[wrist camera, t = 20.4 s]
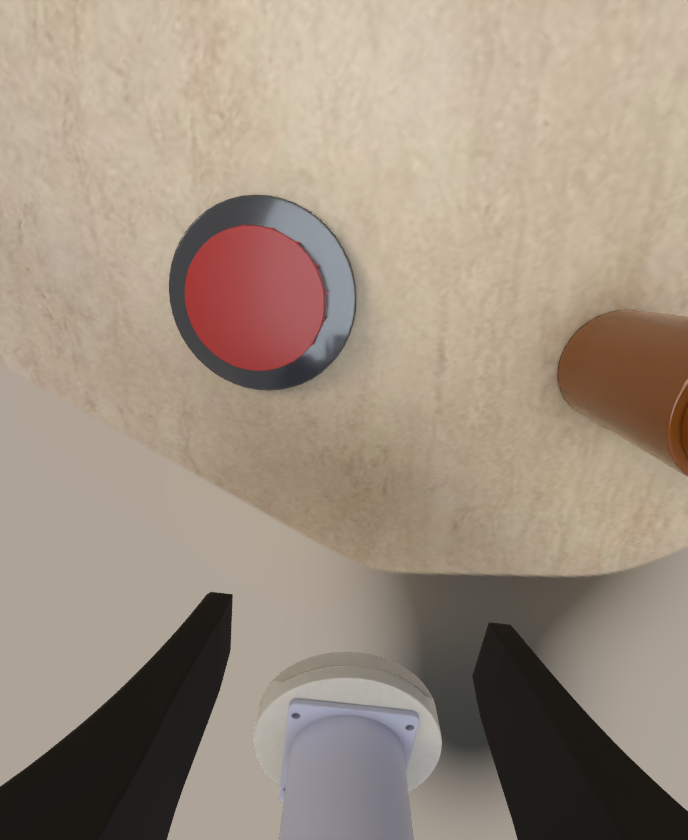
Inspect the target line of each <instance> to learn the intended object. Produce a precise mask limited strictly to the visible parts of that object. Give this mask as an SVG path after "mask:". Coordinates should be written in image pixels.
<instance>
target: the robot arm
mask: <svg viewBox="0 0 688 840" xmlns="http://www.w3.org/2000/svg"><path fill="white" fill-rule="evenodd" d="M231 619H232V594H224V593H215V592H210V593H209V594H207V595H206V596H205V598H204V599H203V600H202V601H201V603H200V604H199V605H198V606H197V608H196V609H195V610H194V611H193V612H192V614H191V615H190V616H189V617H188V618H187V620H186V621H185V622H184V623H183V624H182V625H181V627H180V628H179V629H178V630H177V631H176V632H175V633H174V634H173V635H172V637H171V638H170V639H169V640H168V641H167V642H166V643H165V644H164V645H163V646H162V648H161V649H160V650H159V651H158V652H157V653H156V654H155V655H154V656H153V657H152V658H151V659H150V660H149V661H148V662H147V663H146V664H145V665H144V666H143V667H142V668H141V669H140V670H139V671H138V672H137V673H136V674H135V675H134V676H133V677H132V678H131V679H130V680H129V681H128V682H127V683H126V684H125V685H124V686H123V687H122V688H121V689H120V690H119V691H118V692H117V693H116V694H114V696H112V697H111V698H110V699H109V700H108V701H107V702H106V703H105V704H104V705H102V706H101V707H100V708H99V709H98V710H97V711H96V712H95V713H93V714H92V715H91V716H90V717H89V718H88V719H87V720H85V721H84V722H83V723H82V724H81V725H79V726H78V727H77V728H76V729H75V730H73V731H72V732H71V733H70V734H68V735H67V736H66V737H65V738H64V739H62V740H61V741H60V742H59V743H58V744H56V745H55V746H54V747H53V748H51V749H50V750H49V751H48V752H46V753H45V754H44V755H42V756H41V757H40V758H39V759H37V760H36V761H35V762H33V763H32V764H31V765H29V766H28V767H27V768H25V769H24V770H23V771H21V772H20V773H19V774H17V775H16V776H14V777H13V778H12V779H10V780H9V781H7V782H6V783H5V784H3V785H2V786H1V787H0V840H167V837H168V833H169V830H170V826H171V823H172V820H173V816H174V813H175V810H176V807H177V804H178V801H179V798H180V795H181V792H182V789H183V787H184V784H185V781H186V779H187V776H188V773H189V771H190V768H191V765H192V763H193V760H194V757H195V755H196V752H197V750H198V747H199V744H200V742H201V739H202V736H203V734H204V731H205V728H206V725H207V723H208V720H209V717H210V715H211V712H212V710H213V707H214V704H215V701H216V699H217V696H218V693H219V691H220V686H221V683H222V680H223V676H224V672H225V669H226V665H227V661H228V657H229V653H230V645H231ZM473 681H474V687H475V692H476V698H477V703H478V707H479V712H480V717H481V721H482V724H483V727H484V731H485V734H486V737H487V741H488V744H489V746H490V750H491V754H492V757H493V760H494V763H495V766H496V769H497V772H498V776H499V779H500V782H501V785H502V789H503V792H504V795H505V798H506V801H507V805H508V808H509V811H510V814H511V817H512V820H513V824H514V827H515V831H516V835H517V839H518V840H688V811H687V810H685V809H684V808H683V807H682V806H681V805H680V804H679V803H677V802H676V801H675V800H674V799H673V798H672V797H671V796H670V795H669V794H667V793H666V792H665V791H664V790H663V789H662V788H661V787H660V786H659V785H658V784H657V783H656V782H654V781H653V780H652V779H651V778H650V777H649V776H648V775H647V774H646V773H645V772H644V771H643V770H642V769H641V768H640V767H639V766H638V765H637V764H635V762H634V761H632V760H631V759H630V758H629V757H628V756H627V755H626V754H625V753H624V752H623V751H622V750H621V749H620V748H619V747H618V746H617V745H616V744H615V743H614V742H613V741H612V740H611V738H610V737H609V736H608V735H607V734H606V733H605V732H604V731H603V730H602V729H601V728H600V727H599V726H598V725H597V724H596V723H595V722H594V721H593V720H592V719H591V717H589V715H588V714H587V713H586V712H585V711H584V710H583V709H582V708H581V706H579V704H578V703H577V702H576V701H575V700H574V699H573V698H572V696H570V694H569V693H568V692H567V691H566V690H565V689H564V688H563V686H562V685H561V684H560V683H559V682H558V680H557V679H556V678H555V677H554V676H553V675H552V674H551V672H550V671H549V670H548V669H547V668H546V667H545V665H544V664H543V663H542V662H541V660H539V658H538V657H537V656H536V655H535V653H534V652H533V651H532V650H531V649H530V647H529V646H528V645H527V644H526V643H525V641H524V640H523V639H522V638H521V637H520V635H519V634H518V633H517V632H516V631H515V630H514V629H513V627H512V626H511V625H507V624H498V623H489V624H488V627H487V631H486V634H485V637H484V640H483V643H482V647H481V650H480V653H479V657H478V660H477V663H476V666H475V670H474V673H473ZM418 725H419V715H418V713H417V712H415V711H412V710H404V709H394V708H385V707H375V706H365V705H356V704H346V703H336V702H327V701H317V700H307V699H293V700H291V701H290V703H289V708H288V717H287V726H286V736H285V745H284V754H283V763H282V772H281V782H280V791H279V800H280V801H281V802H282V803H283V811H282V818H281V826H280V834H279V840H414V838H413V829H412V821H411V812H410V802H409V793H408V784H407V775H406V771H407V767H408V763H409V759H410V756H411V752H412V748H413V744H414V740H415V736H416V733H417V729H418Z"/></svg>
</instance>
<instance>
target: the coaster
mask: <svg viewBox="0 0 688 840" xmlns="http://www.w3.org/2000/svg"><path fill="white" fill-rule="evenodd" d="M242 224H244V225H257V226H264V227H267V228H270V226H271V227H274V228H275V229H277V230H278V231H279V232H281V233H283V234H285V235H286V236H288V237H289V238H291V239H293V240H294V241H297V240H298V241H299V242H301V243H302V247H303V248H304V249H305V250H306V251H307V252H308V253H309V254H310V255H311V257H312V258H313V259H314V261H315V262H316V263H317V264H319V265H320V267H318V268H319V269H320V272H321V274H322V277H323V279H324V283H325V287H326V291H327V290H328V294H326V295H327V307H326V315H325V317H327V319H326V321H325V322H323V325H322V327H321V330H320V331H319V333H318V335H317V337H316V338H315V340H316V342H315V344H314V345H313V346H310V347H309V349H308V350H307V351H306V352H305V353H304V354H303V355H302V356H300V357H299V358H298V359H296V361H295V362H294V363H290V364H288V365H286V366H283V367H281V368H277V369H273V370H269V371H268V370H266V371H253V370H246V369H242V368H239V367H236V366H233V365H231V364H229V363H227V362H225V361H223V360H221V359H220V358H219V357H217V356H216V355H214V354H213V353H212V352H211V351H210V350H209V349H208V348H207V347H206V346H205V345H204V344H203V342H202V341H201V340H200V338H199V337H198V336H197V334H196V332H195V331H194V329H193V327H192V325H191V322H190V319H189V317H188V313H187V309H186V304H185V282H186V276H187V273H188V269H189V267H190V264H191V262H192V260H193V258H194V256H195V255H196V253H197V252H198V250H199V249H200V248H201V247H202V246H203V244H204V243H206V242H207V241H208V240H209V239H210V238H211V237H213V236H214V235H216V234H217V233H219V232H221V231H224V230H226V229H229V228H232V227H236V226H241V225H242ZM169 294H170V303H171V308H172V313H173V316H174V319H175V322H176V325H177V327H178V329H179V331H180V333H181V336H182V337H183V339H184V341H185V342H186V344H187V345H188V347H189V348H190V350H191V351H192V352H193V353H194V355H195V356H196V357H197V358H198V359H199V360H200V361H201V362H202V363H203V364H204V365H205V366H206V367H208V368H209V369H210V370H211V371H213V372H214V373H215V374H217V375H219V376H220V377H222V378H224V379H225V380H228V381H230V382H232V383H234V384H237V385H240V386H243V387H246V388H251V389H257V390H281V389H286V388H291V387H294V386H297V385H300V384H303V383H305V382H307V381H309V380H311V379H313V378H314V377H316V376H317V375H319V374H320V373H322V372H323V371H324V370H325V369H326V368H327V367H328V366H329V365H330V364H331V363H332V362H333V361H334V360H335V359H336V357H337V356H338V355H339V353H340V352H341V350H342V349H343V347H344V345H345V343H346V341H347V339H348V337H349V335H350V332H351V329H352V326H353V322H354V317H355V311H356V287H355V281H354V276H353V272H352V269H351V266H350V262H349V260H348V258H347V256H346V253H345V251H344V249H343V247H342V246H341V244H340V243H339V241H338V239H337V238H336V236H335V235H334V234H333V233H332V232H331V230H330V229H329V228H328V227H327V226H326V225H325V224H324V223H323V222H322V221H321V220H320V219H319V218H318V217H316V216H315V215H314V214H312V213H311V212H309V211H308V210H307V209H305V208H303V207H301V206H299V205H297V204H295V203H293V202H290V201H288V200H285V199H282V198H278V197H273V196H267V195H247V196H240V197H236V198H232V199H228V200H226V201H223V202H221V203H219V204H217V205H215V206H213V207H212V208H210V209H208V210H207V211H205V212H204V213H203V214H202V215H201V216H199V217H198V218H197V219H196V220H195V221H194V222H193V223H192V225H191V226H190V227H189V228H188V229H187V231H186V232H185V234H184V235H183V237H182V238H181V240H180V242H179V244H178V247H177V249H176V251H175V254H174V257H173V260H172V264H171V270H170V278H169Z"/></svg>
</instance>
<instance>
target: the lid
mask: <svg viewBox="0 0 688 840" xmlns="http://www.w3.org/2000/svg"><path fill="white" fill-rule="evenodd" d="M318 267H320V265H319V264H317V263H316V262H315V261H314V259H313V258H312V257H311V255H310V254H309V253H308V252H307V251H306V250H305V249H304V248H303V247H302V243H301V242H299V241H298V240H297V241H294V240H293V239H291V238H289V237H288V236H286V235H285V234H283V233H281V232H279V231H278V230H277V229H275V228H274V227H271V226H270V228H267V227H264V226H257V225H244V224H242V225H241V226H236V227H232V228H229V229H226V230H224V231H221V232H219V233H217V234H216V235H214V236H213V237H211V238H210V239H209V240H208V241H207V242H206V243H204V244H203V246H202V247H201V248H200V249H199V250H198V252H197V253H196V255H195V256H194V258H193V260H192V262H191V264H190V267H189V269H188V273H187V276H186V282H185V304H186V309H187V313H188V317H189V319H190V322H191V325H192V327H193V329H194V331H195V332H196V334H197V336H198V337H199V338H200V340H201V341H202V342H203V344H204V345H205V346H206V347H207V348H208V349H209V350H210V351H211V352H212V353H213V354H214V355H216V356H217V357H219V358H220V359H221V360H223V361H225V362H227V363H229V364H231V365H233V366H236V367H239V368H242V369H246V370H253V371H266V370H268V371H269V370H273V369H277V368H281V367H283V366H286V365H288V364H290V363H294V362H295V361H296V359H298V358H299V357H300V356H302V355H303V354H304V353H305V352H306V351H307V350H308V349H309V347H310V346H313V345H314V344H315V342H316V340H315V338H316V337H317V335H318V333H319V331H320V330H321V327H322V325H323V322H325V321H326V319H327V317H325V315H326V307H327V295H326V294H328V290H327V291H326V287H325V283H324V279H323V277H322V274H321V272H320V269H319V268H318Z"/></svg>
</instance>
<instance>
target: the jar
mask: <svg viewBox="0 0 688 840" xmlns="http://www.w3.org/2000/svg"><path fill="white" fill-rule="evenodd" d="M558 382H559V387H560V390H561V393H562V395H563V397H564V399H565V400H566V401H567V403H568V404H569V405H570V406H571V407H572V408H573V409H575V410H576V411H578V412H579V413H581V414H583V415H584V416H586V417H588V418H589V419H591V420H593V421H594V422H596V423H598V424H599V425H601V426H603V427H604V428H606V429H608V430H609V431H611V432H613V433H615V434H616V435H618V436H620V437H621V438H623V439H625V440H626V441H628V442H630V443H631V444H633V445H635V446H636V447H638V448H640V449H641V450H643V451H645V452H646V453H648V454H650V455H652V456H653V457H655V458H657V459H658V460H660V461H662V462H663V463H665V464H667V465H668V466H670V467H672V468H673V469H675V470H677V471H678V472H680V473H682V474H684V475H685V476H687V477H688V317H686V316H678V315H669V314H661V313H652V312H644V311H635V310H618V311H613V312H609V313H606V314H603V315H601V316H599V317H597V318H595V319H593V320H591V321H590V322H588V323H587V324H586V325H584V326H583V327H582V328H581V329H580V330H579V331H577V332H576V333H575V335H574V336H573V337H572V338H571V340H570V341H569V342H568V344H567V346H566V347H565V349H564V351H563V353H562V356H561V359H560V363H559V368H558Z"/></svg>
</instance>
